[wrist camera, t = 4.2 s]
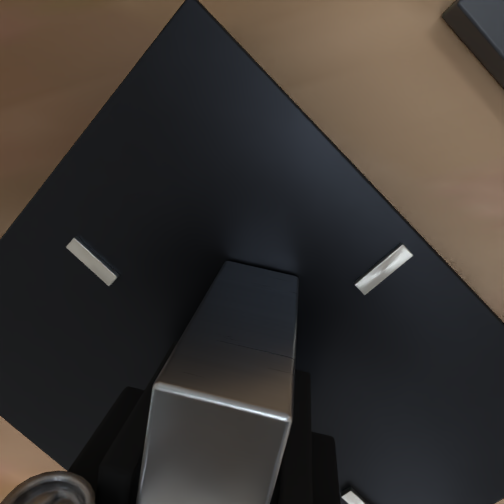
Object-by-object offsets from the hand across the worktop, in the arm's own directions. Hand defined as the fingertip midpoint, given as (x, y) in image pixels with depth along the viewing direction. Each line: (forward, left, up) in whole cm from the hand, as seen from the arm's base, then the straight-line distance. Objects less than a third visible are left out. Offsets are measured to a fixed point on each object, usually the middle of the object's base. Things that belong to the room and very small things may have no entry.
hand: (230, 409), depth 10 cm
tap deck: (0, 0, -4) cm, 4 cm away
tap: (0, 0, -1) cm, 1 cm away
